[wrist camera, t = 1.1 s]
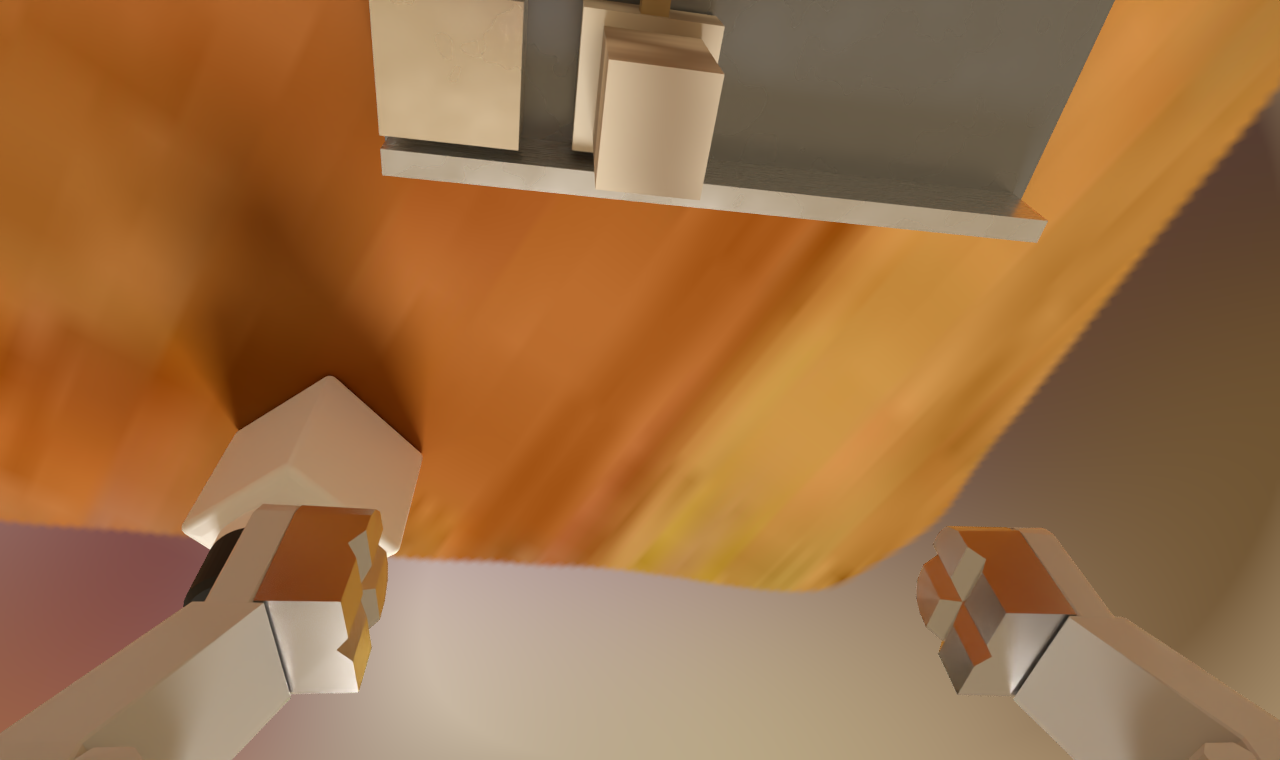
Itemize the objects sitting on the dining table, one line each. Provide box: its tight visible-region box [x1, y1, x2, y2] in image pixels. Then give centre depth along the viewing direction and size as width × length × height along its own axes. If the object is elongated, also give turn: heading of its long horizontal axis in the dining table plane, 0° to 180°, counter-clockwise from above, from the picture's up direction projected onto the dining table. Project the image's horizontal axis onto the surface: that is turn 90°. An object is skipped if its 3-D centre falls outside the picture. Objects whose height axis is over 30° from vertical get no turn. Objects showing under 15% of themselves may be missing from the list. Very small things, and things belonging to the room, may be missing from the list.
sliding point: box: [572, 0, 725, 200], centre depth 24 cm, size 5×10×7 cm, turn 172°
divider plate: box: [369, 0, 1115, 243], centre depth 26 cm, size 28×14×4 cm, turn 82°
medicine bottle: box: [182, 376, 422, 607], centre depth 35 cm, size 7×7×12 cm
